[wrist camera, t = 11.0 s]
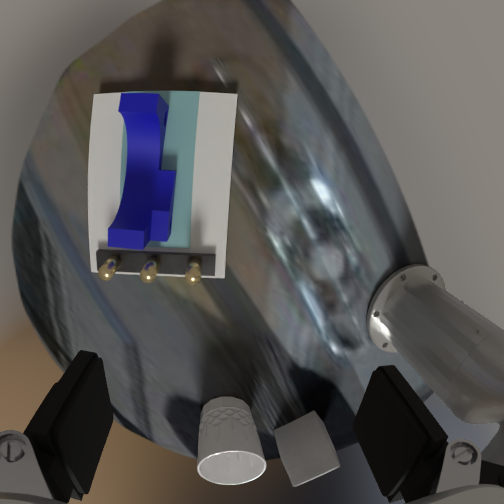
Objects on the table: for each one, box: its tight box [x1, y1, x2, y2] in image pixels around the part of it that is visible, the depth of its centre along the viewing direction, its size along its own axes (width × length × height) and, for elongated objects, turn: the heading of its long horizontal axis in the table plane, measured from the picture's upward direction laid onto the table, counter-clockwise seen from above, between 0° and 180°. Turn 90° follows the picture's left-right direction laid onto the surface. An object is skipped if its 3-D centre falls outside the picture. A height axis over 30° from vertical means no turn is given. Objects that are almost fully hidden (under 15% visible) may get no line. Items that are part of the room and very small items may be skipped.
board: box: [88, 91, 237, 278], centre depth 29 cm, size 14×18×2 cm
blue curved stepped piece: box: [108, 93, 177, 250], centre depth 25 cm, size 12×4×6 cm, turn 172°
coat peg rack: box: [96, 249, 216, 285], centre depth 28 cm, size 12×2×4 cm, turn 85°
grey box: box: [274, 411, 340, 487], centre depth 37 cm, size 4×7×10 cm, turn 120°
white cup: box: [197, 397, 266, 485], centre depth 34 cm, size 8×8×10 cm
